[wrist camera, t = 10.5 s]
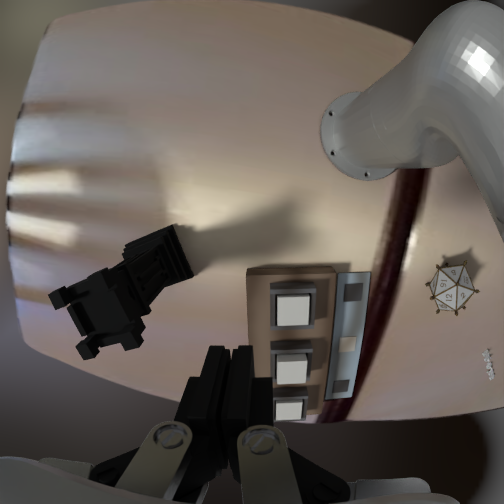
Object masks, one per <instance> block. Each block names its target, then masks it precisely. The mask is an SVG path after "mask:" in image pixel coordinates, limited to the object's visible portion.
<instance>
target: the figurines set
mask: <svg viewBox="0 0 504 504" xmlns="http://www.w3.org/2000/svg"><path fill="white" fill-rule="evenodd" d="M488 353H489V351H488V350H487V349H486V350H485V351H484V352H483V353H482V355H483V356H484V357H485V356H486V357H485V358H484V361H485V362H487V361H488V362H487V363H488V364H487V365H486V368H487V369H489V368H490V369H491V370H490V371H487V373H488V372H489V373H488V375H489V376H490V377H489V379H490V380H492V379H493V378H494V377H495V375H494V374H493V373H494V371H493V369H492V368H491V366H492V363H491V362H490V363H489V359H492V357H490V356H489V354H488ZM487 354H488V355H487ZM491 355H492V354H491Z"/></svg>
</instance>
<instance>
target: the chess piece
mask: <svg viewBox="0 0 504 504" xmlns="http://www.w3.org/2000/svg"><path fill="white" fill-rule="evenodd" d="M125 247H126V248H125V249H123V250H124V253H122V256H123V258H124V260H123V261H122V262H120V263H119V264H117V265H116V266H114V267H113V268H110V269H108V268H104V269H102V270H100V271H97V272H95V273H93V274H92V275H90V276H88V277H87V279H85V280H82V281H80V282H78V283H75V284H73V285H71V286H69V287H68V288H66V287H65V286H63V287H61V288H59V289H57V290H55V291H53V292H51V293H50V294H48V296H49V298H50V300H51V302H52V304H53V306H54V308H55V310H57V309H60V308H62V307H65V306H66V305H68V304H69V303H70V304H71V305H70V306H68V307H67V310H68V312H69V314H70V316H71V318H72V320H73V321H74V323H75V325H76V327H77V329H78V331H79V332H80V334H81V336H86V335H87V337H86V338H85V339H84V340H82V341H80V342H79V344H78V345H77V346H76V349H77V350H78V352H79V354H80V355H81V357H82V358H83V360H88V359H92V358H95V357H96V356H97V354H98V353H99V352H100V351H99V349H98V347H99V346H100V347H105V346H109V345H113V344H117V343H121V344H122V346H123V348H124V350H125V351H127V350H131V349H135V348H139V347H140V346H141V344H142V343H143V341H144V340H143V338H142V336H141V334H142V332H143V331H144V329H145V328H146V327H145V325H144V323H143V321H142V319H141V316H145V315H148V314H149V313H150V312H151V309H150V307H149V305H150V304H151V303H152V302H153V300H154V299H155V298H156V297H157V296H158V294H159V293H160V292H161V291H162V290H163V289H164V287H167V286H170V285H173V284H176V283H179V282H181V281H184V280H187V279H190V278H193V276H194V275H193V272H192V270H191V268H190V266H189V263H188V261H187V259H186V256H185V254H184V252H183V249H182V247H181V244H180V242H179V240H178V237H177V235H176V232H175V230H174V227H173V225H170V226H167V227H165V228H163V229H160V230H158V231H156V232H153V233H151V234H148V235H146V236H144V237H141V238H139V239H137V240H135V241H132V242H130V243H128V244H126V245H125Z"/></svg>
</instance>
